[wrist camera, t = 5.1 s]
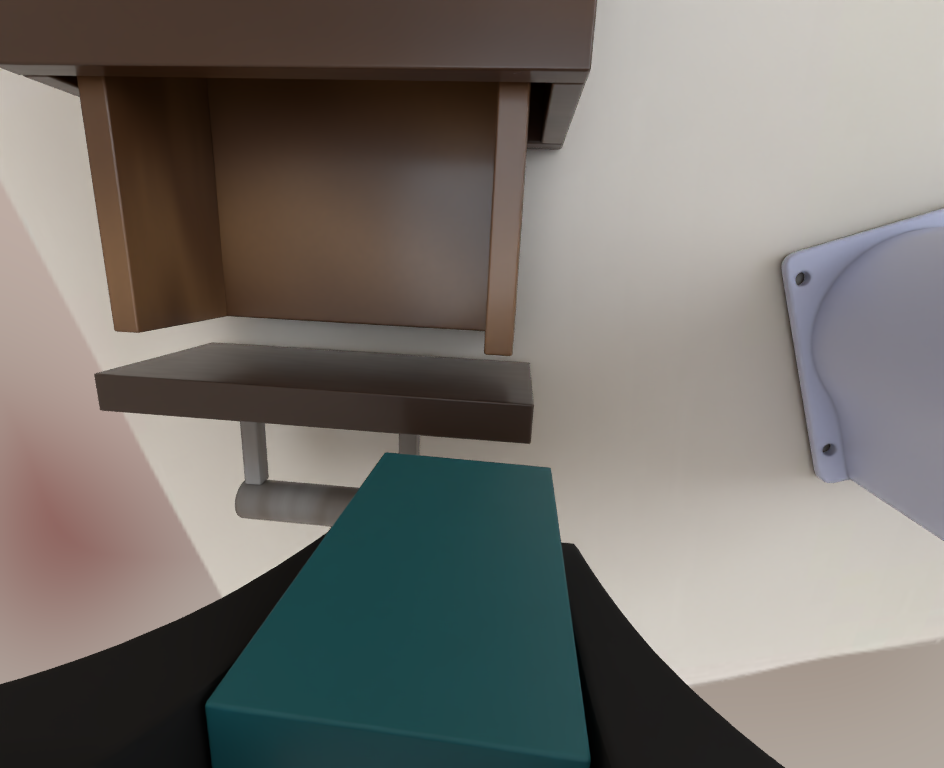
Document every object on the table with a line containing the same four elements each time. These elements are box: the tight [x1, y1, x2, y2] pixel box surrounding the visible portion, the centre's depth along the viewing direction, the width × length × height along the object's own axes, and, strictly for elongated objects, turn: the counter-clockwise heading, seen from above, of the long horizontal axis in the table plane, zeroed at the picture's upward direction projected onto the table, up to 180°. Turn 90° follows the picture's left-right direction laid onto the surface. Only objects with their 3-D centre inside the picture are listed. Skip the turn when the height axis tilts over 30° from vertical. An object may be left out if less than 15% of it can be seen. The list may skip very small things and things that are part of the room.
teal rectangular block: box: [205, 452, 591, 768], centre depth 9 cm, size 4×4×7 cm
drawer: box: [77, 76, 534, 527], centre depth 16 cm, size 18×13×6 cm
